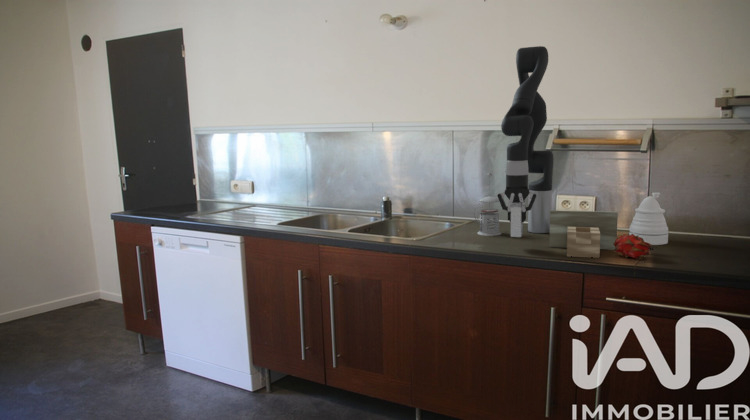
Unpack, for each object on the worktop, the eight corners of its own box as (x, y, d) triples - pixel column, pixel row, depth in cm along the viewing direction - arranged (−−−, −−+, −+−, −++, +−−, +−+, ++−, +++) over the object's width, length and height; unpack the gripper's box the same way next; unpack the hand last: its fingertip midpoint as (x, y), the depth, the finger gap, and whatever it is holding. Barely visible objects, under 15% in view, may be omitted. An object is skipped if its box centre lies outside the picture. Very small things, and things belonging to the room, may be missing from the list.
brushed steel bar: (512, 232, 196) (512, 199, 194) (522, 233, 195) (522, 200, 193) (510, 236, 190) (510, 202, 188) (520, 237, 189) (521, 202, 187)
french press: (506, 234, 220) (506, 172, 217) (481, 237, 216) (482, 174, 212) (492, 230, 229) (492, 171, 226) (468, 233, 225) (468, 172, 222)
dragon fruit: (610, 259, 180) (649, 269, 174) (607, 248, 174) (648, 258, 167) (618, 237, 183) (656, 245, 176) (615, 225, 176) (655, 234, 169)
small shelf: (549, 246, 196) (550, 210, 194) (615, 248, 189) (617, 211, 187) (547, 255, 182) (548, 217, 180) (619, 258, 174) (621, 218, 172)
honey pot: (663, 238, 204) (665, 190, 202) (671, 245, 192) (674, 194, 190) (626, 237, 208) (627, 190, 205) (632, 244, 196) (634, 194, 193)
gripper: (538, 172, 190) (538, 220, 193) (497, 172, 195) (497, 219, 198) (537, 174, 183) (536, 224, 186) (495, 174, 188) (495, 223, 191)
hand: (516, 221), depth 192 cm, fingers closed on brushed steel bar, 3 cm apart
